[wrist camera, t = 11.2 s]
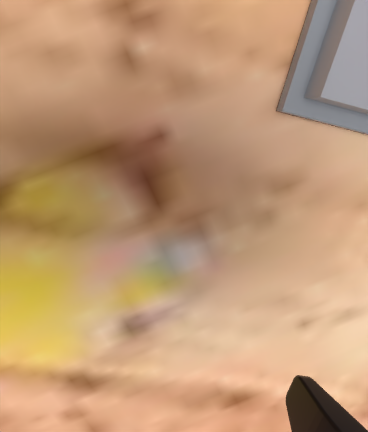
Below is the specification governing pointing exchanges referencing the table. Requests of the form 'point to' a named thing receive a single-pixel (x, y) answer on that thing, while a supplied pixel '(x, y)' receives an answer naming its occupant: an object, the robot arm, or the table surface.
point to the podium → (331, 66)
